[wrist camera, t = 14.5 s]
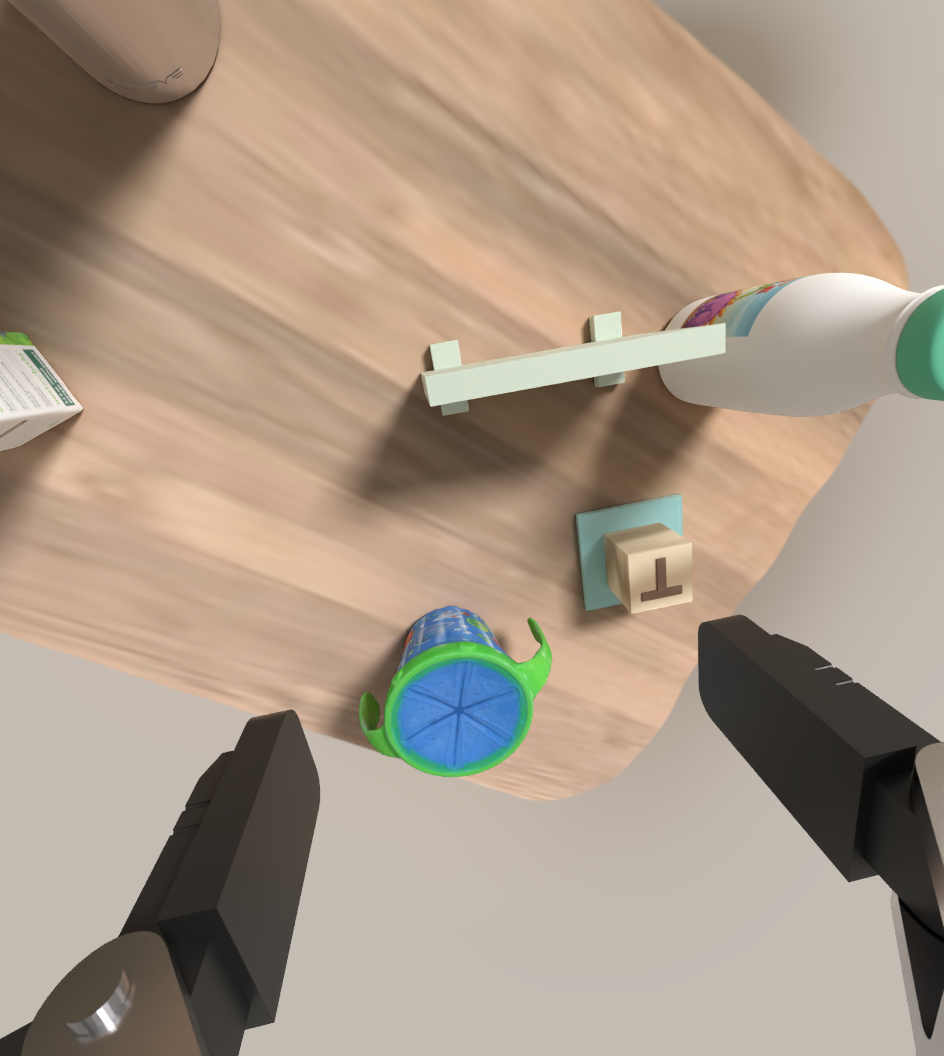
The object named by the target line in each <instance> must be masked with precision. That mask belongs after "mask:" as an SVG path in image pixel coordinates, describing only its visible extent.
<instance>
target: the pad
mask: <svg viewBox="0 0 944 1056" xmlns="http://www.w3.org/2000/svg"><path fill="white" fill-rule="evenodd" d="M659 522H660V523H662V524H663V525H665V526H667V527H668V528H670V529H671V530H673V531H674V532H676V533H678V534H679V535H681V536H682V537H683V529H682V495H680V494H674V495H669V496H664V497H659V498H654V499H649V500H644V501H639V502H634V503H629V504H624V505H619V506H614V507H609V508H604V509H599V510H594V511H589V512H584V513H578V514H576V524H577V534H578V544H579V554H580V564H581V574H582V584H583V594H584V604H585V609H586V610H587V611H590V610H595V609H600V608H604V607H609V606H614V605H619V604H622V602H621V601H620V600H619V599H618V598H617V597H616V596H615V595H614V593H613V592H612V591H611V590H610V589H609V588H608V587H607V576H606V563H605V549H604V536H603V533H608V532H614V531H619V530H624V529H629V528H634V527H639V526H644V525H649V524H654V523H659Z"/></svg>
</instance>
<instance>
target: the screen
mask: <svg viewBox="0 0 944 1056" xmlns="http://www.w3.org/2000/svg"><path fill="white" fill-rule="evenodd" d="M589 322H590V335H591V342H590V343H584V344H579V345H573V346H567V347H562V348H556V349H550V350H545V351H539V352H534V353H528V354H522V355H517V356H511V357H506V358H500V359H494V360H489V361H483V362H477V363H472V364H466V365H462V363H461V357H460V351H459V345H458V340H454V341H448V342H443V343H437V344H431V345H429V346H430V351H431V357H432V362H433V368H434V370H432V371H427V372H421V377H422V382H423V388H424V393H425V395H426V398H427V400H428V402H429V404H430V407H431V406H437V405H440V406H441V411H442V415H443V416H445V415H450V414H456V413H461V412H467V411H469V406H468V400H470V399H475V398H481V397H486V396H492V395H497V394H503V393H508V392H514V391H519V390H525V389H530V388H536V387H541V386H547V385H552V384H558V383H563V382H569V381H574V380H580V379H585V378H591V377H594V385H595V387H603V386H608V385H614V384H619V383H625V378H624V371H629V370H635V369H640V368H646V367H651V366H657V365H662V364H668V363H673V362H679V361H684V360H690V359H695V358H701V357H706V356H712V355H717V354H722V353H725V333H726V323H722V324H714V325H706V326H699V327H691V328H683V329H675V330H668V331H660V332H652V333H644V334H637V335H629V336H624V337H622V327H621V311H620V312H614V313H609V314H603V315H597V316H592V317H589Z"/></svg>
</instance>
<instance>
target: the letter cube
mask: <svg viewBox="0 0 944 1056" xmlns="http://www.w3.org/2000/svg"><path fill="white" fill-rule="evenodd" d="M603 536H604V549H605V563H606V576H607V587H608V588H609V589H610V590H611V591H612V592H613V593H614V595H615V596H616V597H617V598H618V599H619V600H620V601H621V602H622V604H623V605H624V606H625V607H626V608H627V609H628V610H629V612H630V613H631V614H633V613H638V612H642V611H647V610H652V609H657V608H662V607H667V606H671V605H676V604H681V603H686V602H691V601H693V596H692V542H690V541H689V540H687V539H685V538H684V537H682V536H681V535H679V534H678V533H676V532H674V531H673V530H671V529H670V528H668V527H667V526H665V525H663V524H662V523H660V522H659V523H654V524H649V525H644V526H639V527H634V528H629V529H624V530H619V531H614V532H608V533H603Z"/></svg>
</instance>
